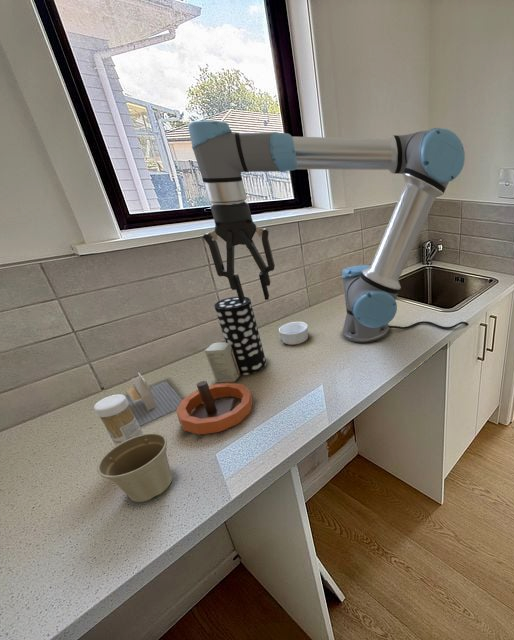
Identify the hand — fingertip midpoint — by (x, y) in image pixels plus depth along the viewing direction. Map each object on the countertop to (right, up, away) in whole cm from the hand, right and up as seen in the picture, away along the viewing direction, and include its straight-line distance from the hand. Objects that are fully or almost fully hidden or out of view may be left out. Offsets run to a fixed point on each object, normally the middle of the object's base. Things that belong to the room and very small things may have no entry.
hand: (255, 299), depth 84 cm
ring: (-6, -27, -6) cm, 28 cm away
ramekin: (0, -12, +26) cm, 28 cm away
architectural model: (-25, -26, -3) cm, 36 cm away
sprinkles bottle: (-16, -33, -16) cm, 40 cm away
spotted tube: (-7, -19, +12) cm, 23 cm away
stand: (-7, -27, -6) cm, 29 cm away
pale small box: (-11, -21, +7) cm, 25 cm away
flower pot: (-7, -36, -23) cm, 43 cm away
